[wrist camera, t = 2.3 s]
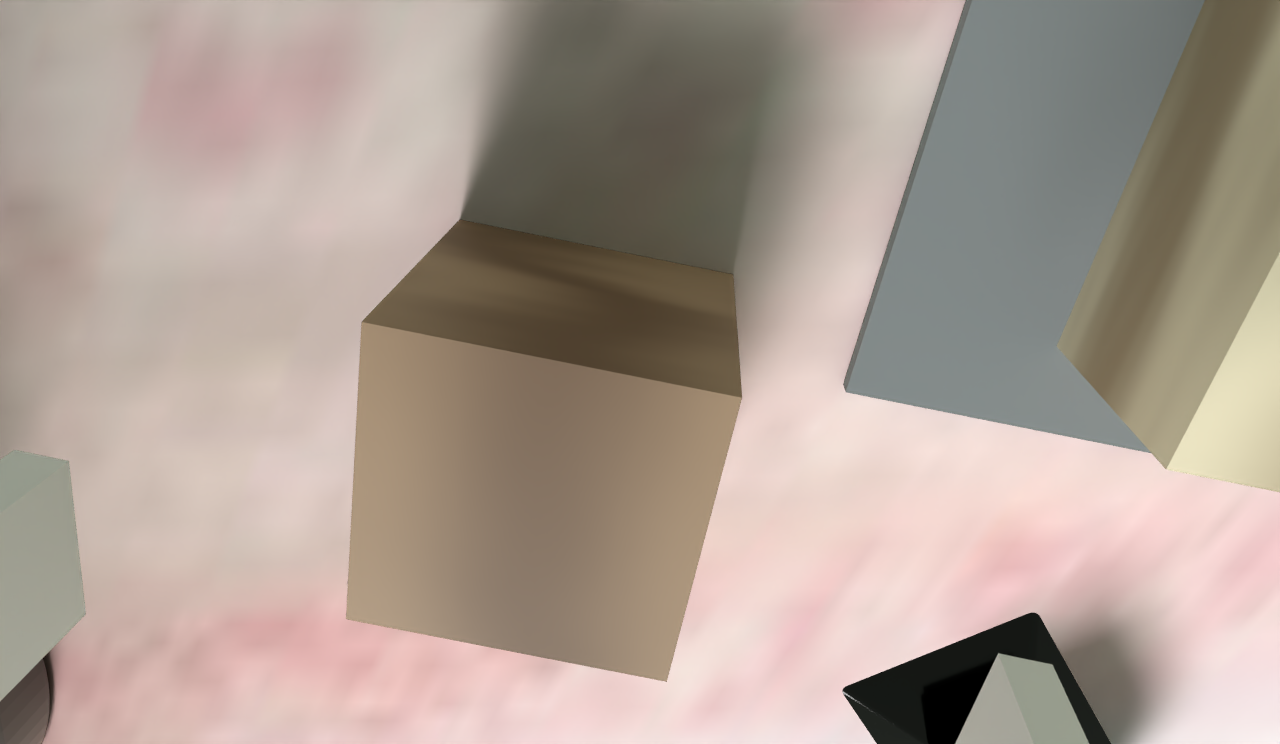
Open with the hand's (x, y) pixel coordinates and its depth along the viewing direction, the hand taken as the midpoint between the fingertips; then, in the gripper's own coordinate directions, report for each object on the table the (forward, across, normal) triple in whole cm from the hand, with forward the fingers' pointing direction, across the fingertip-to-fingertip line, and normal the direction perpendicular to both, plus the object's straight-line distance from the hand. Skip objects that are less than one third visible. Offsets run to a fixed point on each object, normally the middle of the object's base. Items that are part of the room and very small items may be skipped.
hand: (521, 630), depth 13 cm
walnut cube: (+9, -1, 0) cm, 9 cm away
